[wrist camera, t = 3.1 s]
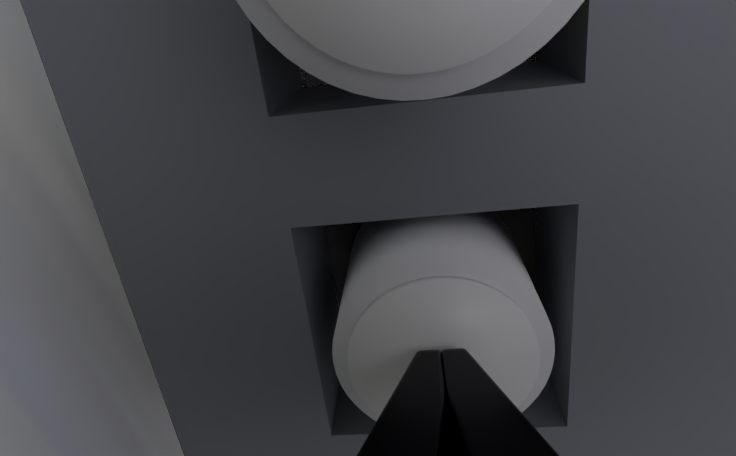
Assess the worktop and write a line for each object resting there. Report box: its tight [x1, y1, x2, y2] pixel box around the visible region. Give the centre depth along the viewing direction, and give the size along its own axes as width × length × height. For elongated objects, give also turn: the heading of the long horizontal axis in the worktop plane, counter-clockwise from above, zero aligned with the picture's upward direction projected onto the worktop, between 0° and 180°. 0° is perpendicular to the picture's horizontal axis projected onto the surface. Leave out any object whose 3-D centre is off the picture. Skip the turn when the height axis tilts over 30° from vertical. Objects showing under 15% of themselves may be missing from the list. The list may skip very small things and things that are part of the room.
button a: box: [332, 211, 555, 421], centre depth 11 cm, size 4×4×4 cm
